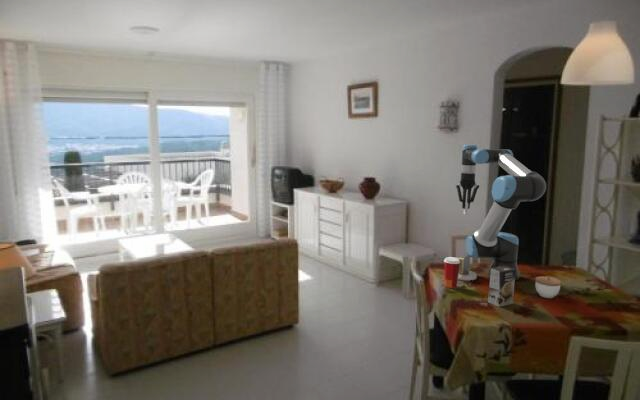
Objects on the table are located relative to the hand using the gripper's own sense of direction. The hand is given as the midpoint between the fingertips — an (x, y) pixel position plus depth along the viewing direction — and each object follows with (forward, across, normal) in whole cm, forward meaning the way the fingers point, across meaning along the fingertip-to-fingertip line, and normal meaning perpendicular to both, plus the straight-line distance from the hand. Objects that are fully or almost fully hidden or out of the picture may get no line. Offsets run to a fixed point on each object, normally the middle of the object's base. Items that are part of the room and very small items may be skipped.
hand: (465, 214), depth 254 cm
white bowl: (+30, -25, +48) cm, 62 cm away
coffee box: (+30, 0, +58) cm, 65 cm away
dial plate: (+29, +6, +21) cm, 37 cm away
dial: (+28, +6, +21) cm, 35 cm away
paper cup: (+30, +17, +37) cm, 50 cm away
